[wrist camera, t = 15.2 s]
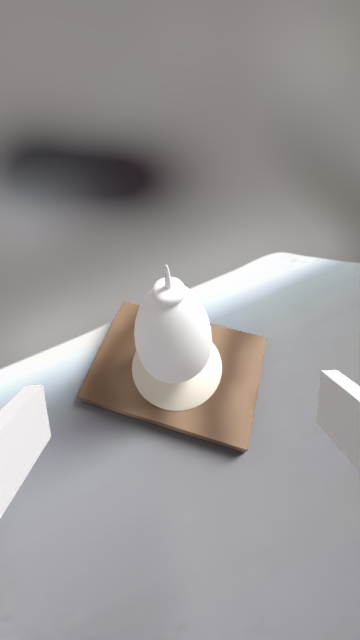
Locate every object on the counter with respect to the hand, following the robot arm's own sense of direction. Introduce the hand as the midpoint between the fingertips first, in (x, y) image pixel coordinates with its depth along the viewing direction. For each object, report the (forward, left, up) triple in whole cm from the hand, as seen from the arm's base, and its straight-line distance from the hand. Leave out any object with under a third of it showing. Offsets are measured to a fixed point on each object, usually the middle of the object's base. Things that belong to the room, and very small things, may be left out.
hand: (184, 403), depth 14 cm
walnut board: (+3, -10, -22) cm, 24 cm away
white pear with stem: (+4, -10, -20) cm, 22 cm away
